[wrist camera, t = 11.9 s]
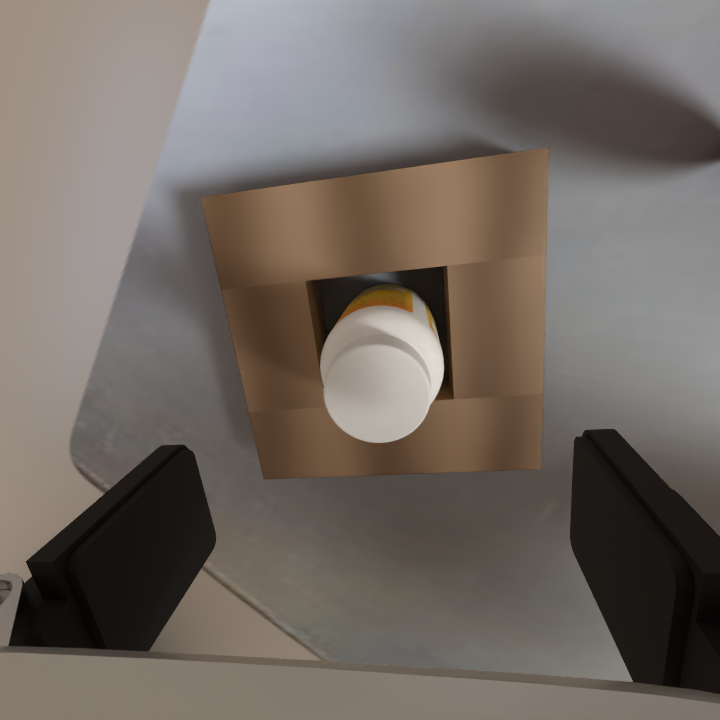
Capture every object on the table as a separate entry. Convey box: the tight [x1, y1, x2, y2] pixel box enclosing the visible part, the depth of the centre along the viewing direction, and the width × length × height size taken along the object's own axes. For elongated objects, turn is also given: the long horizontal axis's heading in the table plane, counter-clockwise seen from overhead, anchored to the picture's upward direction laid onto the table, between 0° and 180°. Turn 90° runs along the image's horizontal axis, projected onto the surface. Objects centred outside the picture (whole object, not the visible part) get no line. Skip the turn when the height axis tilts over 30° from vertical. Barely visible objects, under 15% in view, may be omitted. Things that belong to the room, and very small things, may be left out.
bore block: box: [200, 147, 549, 479], centre depth 23 cm, size 16×16×3 cm
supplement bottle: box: [320, 284, 444, 443], centre depth 20 cm, size 5×5×10 cm
